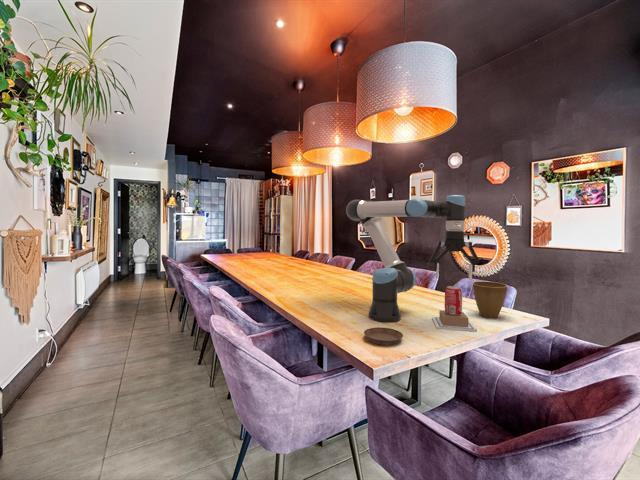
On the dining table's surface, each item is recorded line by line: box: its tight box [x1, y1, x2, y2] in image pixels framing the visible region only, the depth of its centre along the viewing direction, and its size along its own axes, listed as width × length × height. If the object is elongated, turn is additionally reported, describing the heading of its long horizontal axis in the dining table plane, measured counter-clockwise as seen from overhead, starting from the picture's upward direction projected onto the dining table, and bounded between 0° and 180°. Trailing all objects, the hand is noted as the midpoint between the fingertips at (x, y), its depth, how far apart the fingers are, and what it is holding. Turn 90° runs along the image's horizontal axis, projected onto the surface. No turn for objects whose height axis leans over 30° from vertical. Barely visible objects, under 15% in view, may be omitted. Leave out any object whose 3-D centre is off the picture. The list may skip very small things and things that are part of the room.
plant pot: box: [472, 280, 508, 319], centre depth 145 cm, size 15×15×16 cm
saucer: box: [363, 327, 404, 346], centre depth 114 cm, size 15×15×3 cm
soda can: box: [444, 285, 463, 316], centre depth 131 cm, size 7×7×12 cm
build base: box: [431, 309, 478, 333], centre depth 132 cm, size 16×14×5 cm
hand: (453, 278), depth 131 cm, fingers open, 13 cm apart
